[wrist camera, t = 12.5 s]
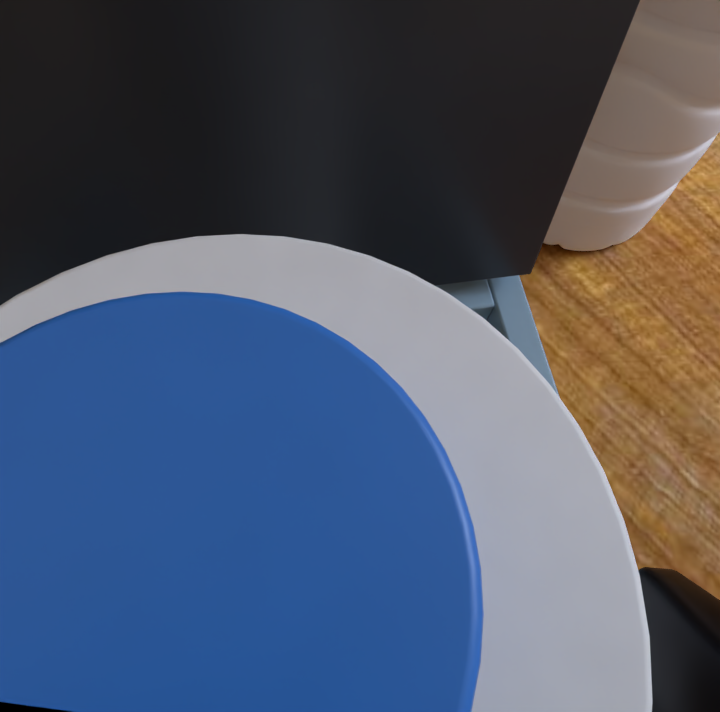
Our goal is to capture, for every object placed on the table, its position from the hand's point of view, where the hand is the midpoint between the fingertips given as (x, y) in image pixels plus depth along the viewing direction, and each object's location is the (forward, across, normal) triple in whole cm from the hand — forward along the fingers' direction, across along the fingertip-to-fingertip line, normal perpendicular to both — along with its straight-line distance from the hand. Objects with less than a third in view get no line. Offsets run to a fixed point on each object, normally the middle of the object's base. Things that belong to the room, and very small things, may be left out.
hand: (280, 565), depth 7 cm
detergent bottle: (+6, 0, +6) cm, 8 cm away
